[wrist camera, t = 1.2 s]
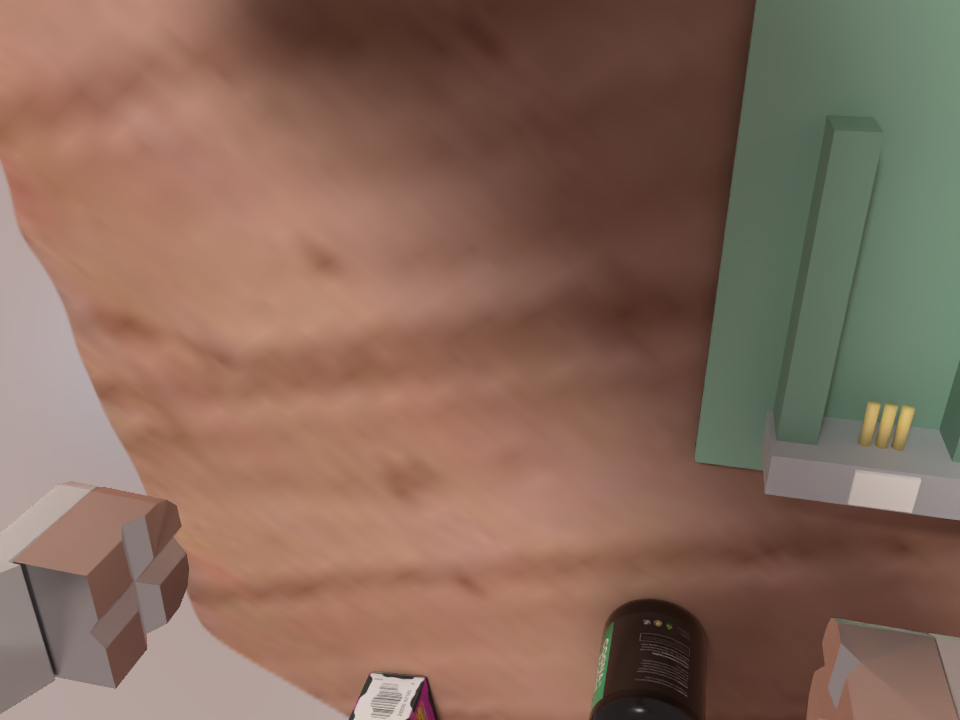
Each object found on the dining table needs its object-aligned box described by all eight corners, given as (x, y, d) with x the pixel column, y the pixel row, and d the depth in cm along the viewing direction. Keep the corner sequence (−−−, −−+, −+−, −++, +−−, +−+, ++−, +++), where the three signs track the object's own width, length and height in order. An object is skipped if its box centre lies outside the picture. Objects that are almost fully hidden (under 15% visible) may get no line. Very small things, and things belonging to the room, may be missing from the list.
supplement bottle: (584, 616, 59) (555, 768, 49) (668, 581, 56) (657, 735, 45) (642, 682, 60) (626, 843, 50) (727, 651, 57) (728, 816, 47)
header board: (766, -81, 37) (773, -77, 33) (1245, -81, 34) (1334, -77, 29) (694, 452, 51) (691, 511, 46) (1032, 495, 47) (1068, 564, 42)
